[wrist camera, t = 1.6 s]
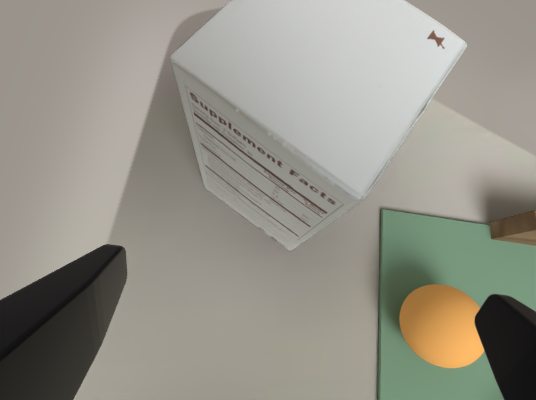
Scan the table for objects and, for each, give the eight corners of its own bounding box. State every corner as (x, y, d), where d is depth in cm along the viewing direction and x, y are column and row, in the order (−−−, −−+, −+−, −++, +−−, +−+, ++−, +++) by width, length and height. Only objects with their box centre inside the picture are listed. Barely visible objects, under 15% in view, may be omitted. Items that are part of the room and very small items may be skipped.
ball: (454, 363, 20) (514, 382, 15) (385, 355, 19) (428, 372, 15) (450, 289, 21) (505, 288, 17) (386, 281, 21) (426, 277, 16)
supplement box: (266, 114, 23) (304, -76, 11) (348, 174, 23) (480, 41, 11) (200, 188, 21) (160, 51, 9) (288, 256, 21) (369, 205, 9)
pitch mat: (662, 482, 19) (668, 484, 19) (377, 455, 18) (379, 458, 18) (614, 245, 24) (619, 244, 23) (381, 210, 22) (382, 209, 22)
